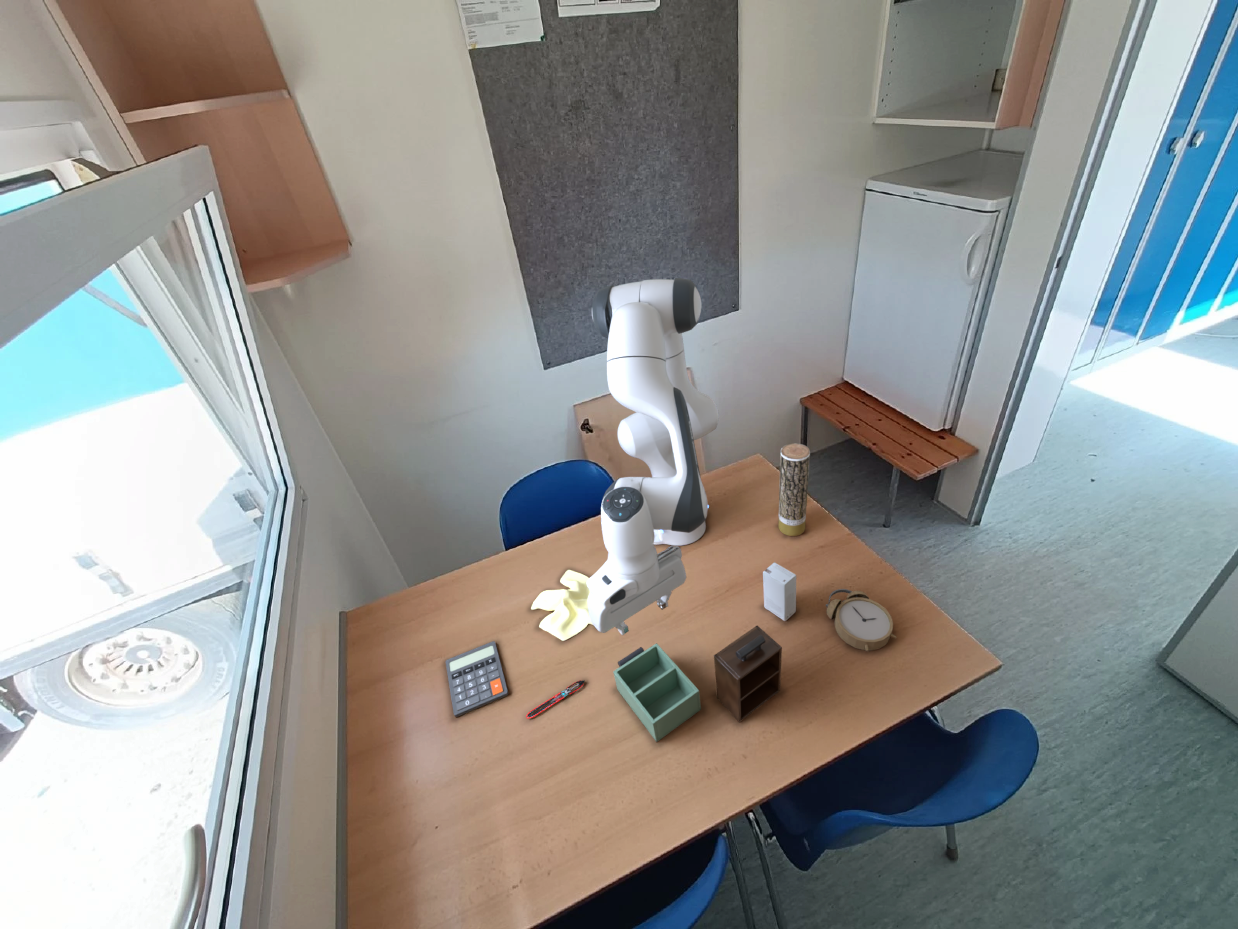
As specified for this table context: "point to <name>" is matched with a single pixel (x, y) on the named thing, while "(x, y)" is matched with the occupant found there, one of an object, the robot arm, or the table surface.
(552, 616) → the cloth
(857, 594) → the alarm clock
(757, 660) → the walnut shelf
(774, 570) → the cosmetic box
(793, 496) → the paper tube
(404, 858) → the table surface
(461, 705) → the calculator
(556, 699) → the pen
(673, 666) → the sage shelf
